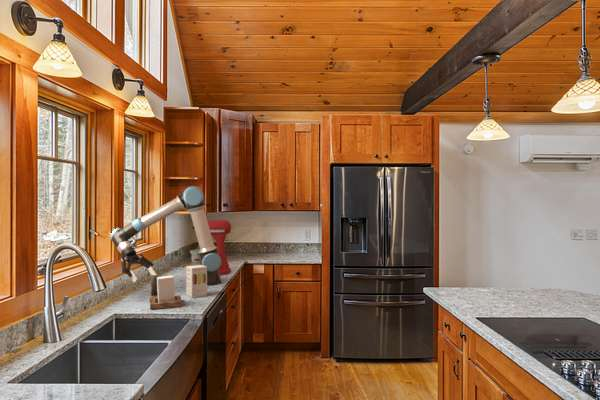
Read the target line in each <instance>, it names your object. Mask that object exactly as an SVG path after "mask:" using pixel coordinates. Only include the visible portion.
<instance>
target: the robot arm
mask: <svg viewBox="0 0 600 400" xmlns="http://www.w3.org/2000/svg"><path fill="white" fill-rule="evenodd" d="M204 197H205V195H204V192H203V190H201V188H200V187H197V186H194V185H193V186H188V187H187V188H186V189H185V190H184V191H182V192H181V193H180V194H178V195H176V197H175V198H173V199H172V200H170V201H168V202H167V203H165V204H162V205H161V206H159V207H157V208H155V209H153V210H152V211H150V212H148V213H146V214H145V215H143V216H141V217H139V218H135V219H134V220H132V221H131V222H130V223H128V224H126V226H124V227H122V228H120V227H115V228H116V229H115V228H113V229H114V230H113V229H112V230H113V231H112V233H110V232H109V233H110V236H109V238H110V237H111V238H110V241H111V242H112V241H113V242H112V243H113V245H114V246H115V247H116V249H117V251H118V252H119V254H120V256H121V258H120V262H121V272H122V273H123V274H125V275H128V277H129V278H130V279H131V280H132V282H133V283H136V282H137V280H138V278H137V277H136V275H135V273H134V272H133V270H132V269H131V267H132V265H141V266H142V267H144V268H146V269H147V271H148V273H150V276H151V275H157V273H156V271H155V269H154V268H153V266H154V265H155V264H154V263H153V262H152V261H150V260H149V259H148V258H146V257H145V256H144V255H143V254H141V253H140V254H139V255H138V254H137V251H136V249H135V248H134V246H133V245H132V243H131V242H130V239H132V238H133V237H135V236H136V235H137V234H139V233H141V232H143V230H145V229H147V228H149V227H151V226H153V225H155V224H157V223H158V222H160V221H162V220H164V219H165V218H167V217H169V216H171V215H172V214H175V213H176V212H178V211H180V210H181V209H182V210H185V209H186V211H188V212H189V213H190V216H191V220H192V225H194V228H195V230H194V231H195V234H196V235H197V236H196V238H197V242H198V246H199V247H200V251H199V255H200V265H203V266H206V267H207V286H215V285H219V284H221V283H222V277H221V275H219V272H218V268H219V267H220V265H221V258H220V256H219V253H218V249H217V246H216V245H215V244H214V241H213V236H212V235H211V233H210V229H209V226H208V222H207V220H208V219H207V215H206V212H205V207H206V203H205V199H204ZM157 276H158V275H157Z"/></svg>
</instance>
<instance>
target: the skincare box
mask: <svg viewBox="0 0 600 400" xmlns="http://www.w3.org/2000/svg"><path fill="white" fill-rule="evenodd" d="M175 292H176V291H175V277H174V276H173V275H172V274H171V275H165V276H164V275H163V276H157V294H158V303H160V302H171V301H175V295H176V294H175Z"/></svg>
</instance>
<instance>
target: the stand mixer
mask: <svg viewBox="0 0 600 400" xmlns="http://www.w3.org/2000/svg"><path fill="white" fill-rule="evenodd" d="M207 222H208V226H209V229H210V233H211V237H212V239H214V240H215V243H216V245H215V246H216V247H217V249H218V253H219V256H220V258H221V265H220V267H219V268H218V272H219V275H220V276H224V275H229V274H231V273H232V268H231V267H230V264H229V261H228V258H227V256H226V250H225V249H226V248H225V240H226V237H227V235H228V234H231V229H232V224H231V222H230V221H229V220H226V219H220V220H219V219H217V220H215V219H211V220H208V219H207ZM191 228H192V229H193V230H194V231H195V228H194V224H192V227H191ZM196 237H197V235H196ZM199 251H200V246H199V245H198V246H197V247H196V248H195V249H191V250H189V253H190V255H191V257H190V258H191V263H192V266H195V265H200V255H199Z"/></svg>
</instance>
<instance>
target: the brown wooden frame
mask: <svg viewBox="0 0 600 400" xmlns="http://www.w3.org/2000/svg"><path fill="white" fill-rule="evenodd" d="M157 277H158V275H151V274H150V294H149V295H150V297H149V304H150V305H149V308H150V310H157V309H159V310H160V309H167V308H169V309H170V308H179V307H180V308H181V307H182V295H181V294H177V295H176V294H175V301H171V302H160V303H158V291H157Z"/></svg>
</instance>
